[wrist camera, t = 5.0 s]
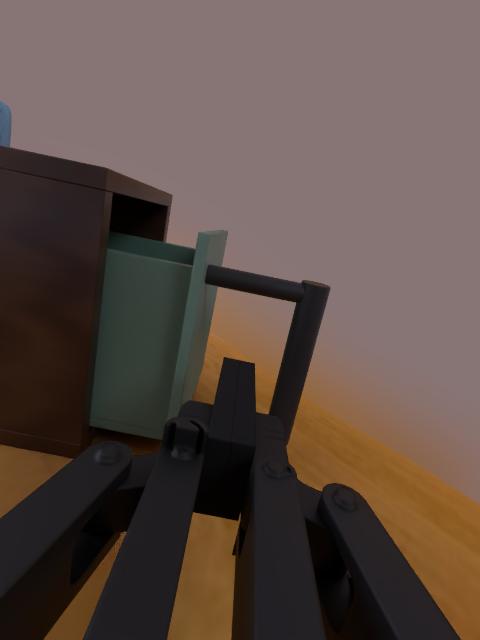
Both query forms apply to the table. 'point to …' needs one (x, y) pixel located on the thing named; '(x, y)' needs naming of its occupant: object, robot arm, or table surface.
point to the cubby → (59, 289)
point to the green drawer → (182, 330)
